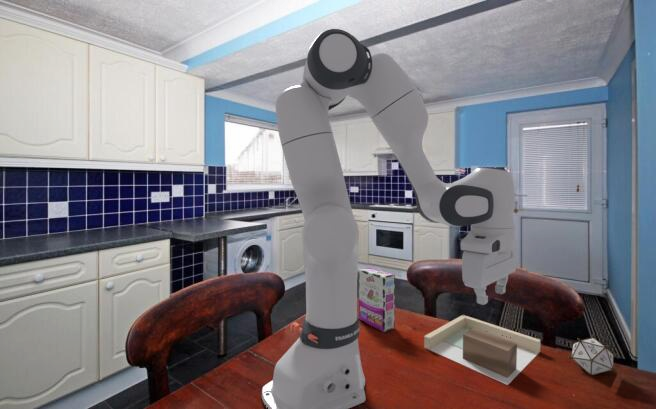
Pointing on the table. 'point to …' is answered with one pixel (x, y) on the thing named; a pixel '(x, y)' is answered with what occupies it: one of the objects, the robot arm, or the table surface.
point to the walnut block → (490, 352)
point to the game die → (592, 356)
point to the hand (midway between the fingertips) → (491, 298)
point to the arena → (451, 334)
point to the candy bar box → (377, 298)
